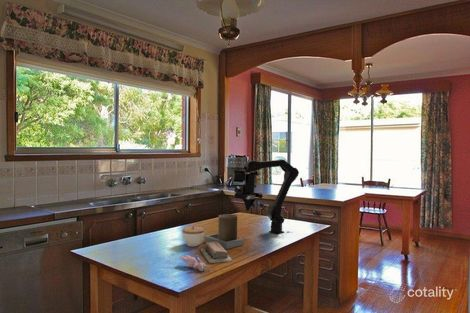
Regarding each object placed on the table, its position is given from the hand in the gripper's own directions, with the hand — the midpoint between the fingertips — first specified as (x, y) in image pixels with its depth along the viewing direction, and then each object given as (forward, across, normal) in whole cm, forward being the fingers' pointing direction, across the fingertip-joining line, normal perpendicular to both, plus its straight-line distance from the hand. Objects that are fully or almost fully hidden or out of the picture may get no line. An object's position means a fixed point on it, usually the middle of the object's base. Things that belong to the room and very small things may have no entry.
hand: (247, 210), depth 191 cm
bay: (+15, +20, +3) cm, 25 cm away
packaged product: (+16, +38, +14) cm, 43 cm away
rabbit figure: (+17, +54, +18) cm, 60 cm away
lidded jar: (+16, +33, -7) cm, 37 cm away
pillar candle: (+15, +18, +3) cm, 24 cm away
